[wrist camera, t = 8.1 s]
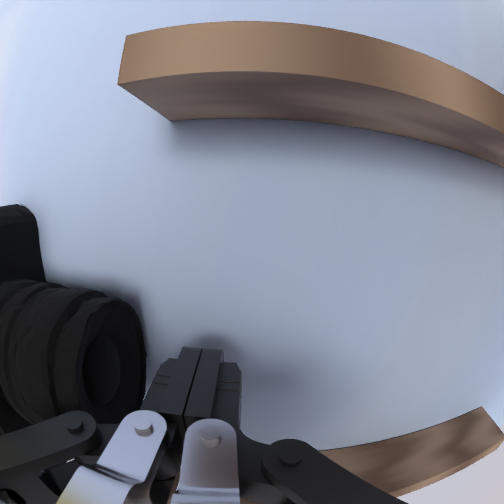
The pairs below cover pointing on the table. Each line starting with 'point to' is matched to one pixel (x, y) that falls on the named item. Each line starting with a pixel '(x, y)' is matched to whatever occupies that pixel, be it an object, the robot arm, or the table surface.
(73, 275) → the table surface
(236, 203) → the table surface
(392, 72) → the walnut chute
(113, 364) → the film camera
